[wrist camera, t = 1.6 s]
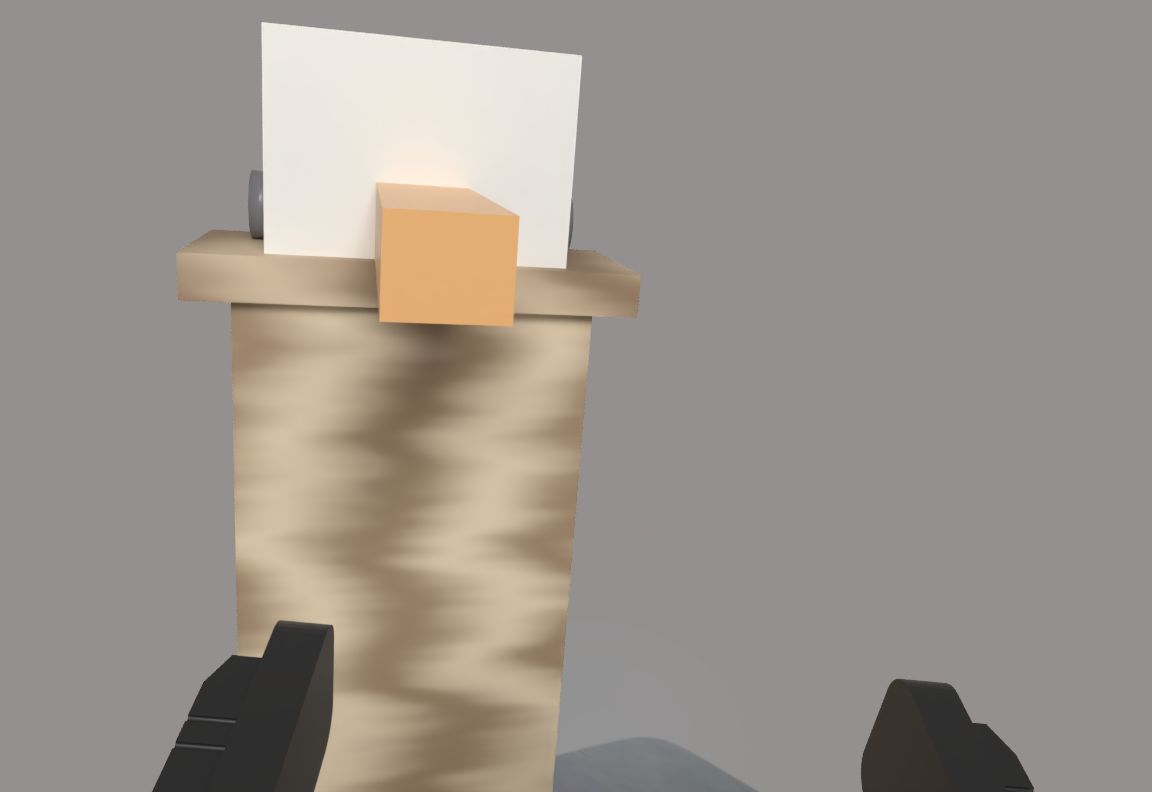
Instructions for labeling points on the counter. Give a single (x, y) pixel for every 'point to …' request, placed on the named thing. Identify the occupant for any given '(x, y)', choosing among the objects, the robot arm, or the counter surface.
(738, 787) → the counter surface
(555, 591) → the dock pedestal
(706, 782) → the counter surface
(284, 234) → the white box with knobs
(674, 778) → the counter surface
